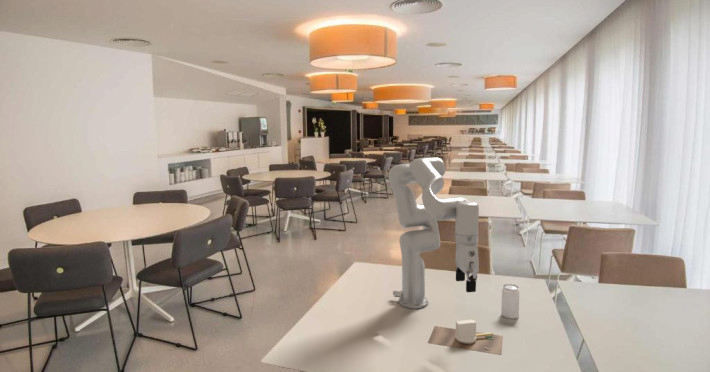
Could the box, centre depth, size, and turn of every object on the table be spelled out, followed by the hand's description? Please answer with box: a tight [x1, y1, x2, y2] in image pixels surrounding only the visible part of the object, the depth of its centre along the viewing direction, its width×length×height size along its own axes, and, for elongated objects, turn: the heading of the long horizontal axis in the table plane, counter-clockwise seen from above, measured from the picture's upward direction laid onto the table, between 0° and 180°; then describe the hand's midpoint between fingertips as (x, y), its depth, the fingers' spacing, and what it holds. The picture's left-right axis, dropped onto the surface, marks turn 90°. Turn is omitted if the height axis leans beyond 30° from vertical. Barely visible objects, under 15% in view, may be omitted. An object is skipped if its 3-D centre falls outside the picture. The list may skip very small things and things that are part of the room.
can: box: [501, 283, 520, 320], centre depth 167 cm, size 6×6×12 cm
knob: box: [455, 318, 494, 344], centre depth 147 cm, size 14×7×6 cm, turn 99°
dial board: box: [427, 325, 504, 356], centre depth 147 cm, size 24×13×2 cm, turn 69°
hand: (465, 286), depth 146 cm, fingers open, 9 cm apart
